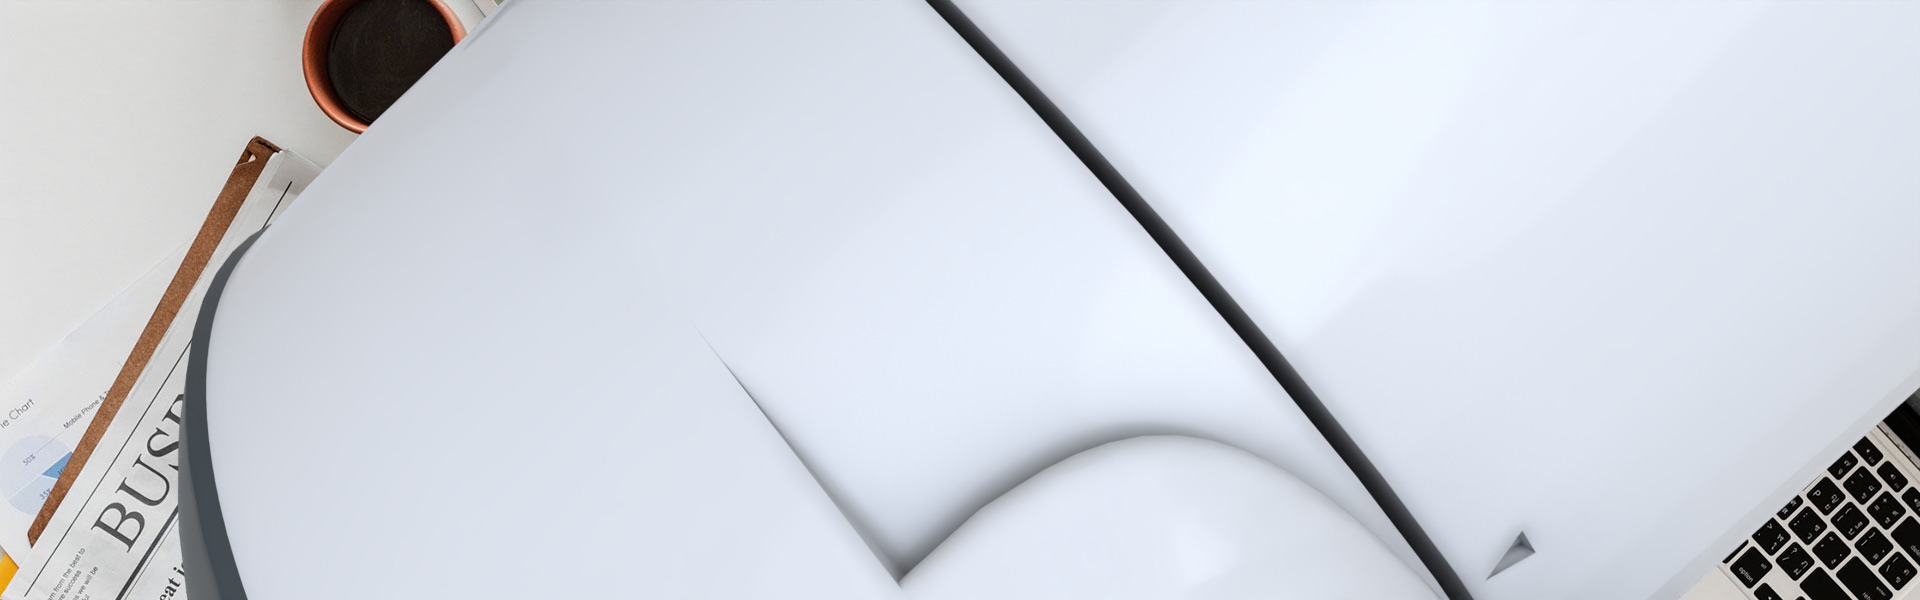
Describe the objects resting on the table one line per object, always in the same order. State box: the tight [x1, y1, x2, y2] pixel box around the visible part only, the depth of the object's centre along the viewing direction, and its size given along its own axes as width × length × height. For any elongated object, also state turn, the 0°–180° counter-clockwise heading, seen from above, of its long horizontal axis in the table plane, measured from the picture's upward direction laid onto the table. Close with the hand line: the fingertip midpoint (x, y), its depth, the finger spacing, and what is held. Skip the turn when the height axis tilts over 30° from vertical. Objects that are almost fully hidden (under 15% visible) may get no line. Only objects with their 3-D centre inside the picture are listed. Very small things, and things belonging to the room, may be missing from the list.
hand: (1127, 512), depth 32 cm, fingers closed on supplement bottle, 5 cm apart
